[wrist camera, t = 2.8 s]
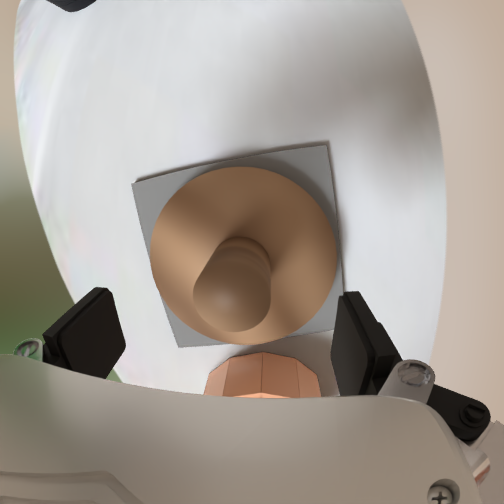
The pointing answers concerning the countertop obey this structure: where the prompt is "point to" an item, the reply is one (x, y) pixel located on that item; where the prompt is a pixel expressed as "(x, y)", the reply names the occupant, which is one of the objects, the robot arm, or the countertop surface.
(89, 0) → the wine bottle
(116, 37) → the countertop surface
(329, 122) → the countertop surface
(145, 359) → the countertop surface
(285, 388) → the bowl
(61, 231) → the countertop surface
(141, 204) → the mat
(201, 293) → the lid
